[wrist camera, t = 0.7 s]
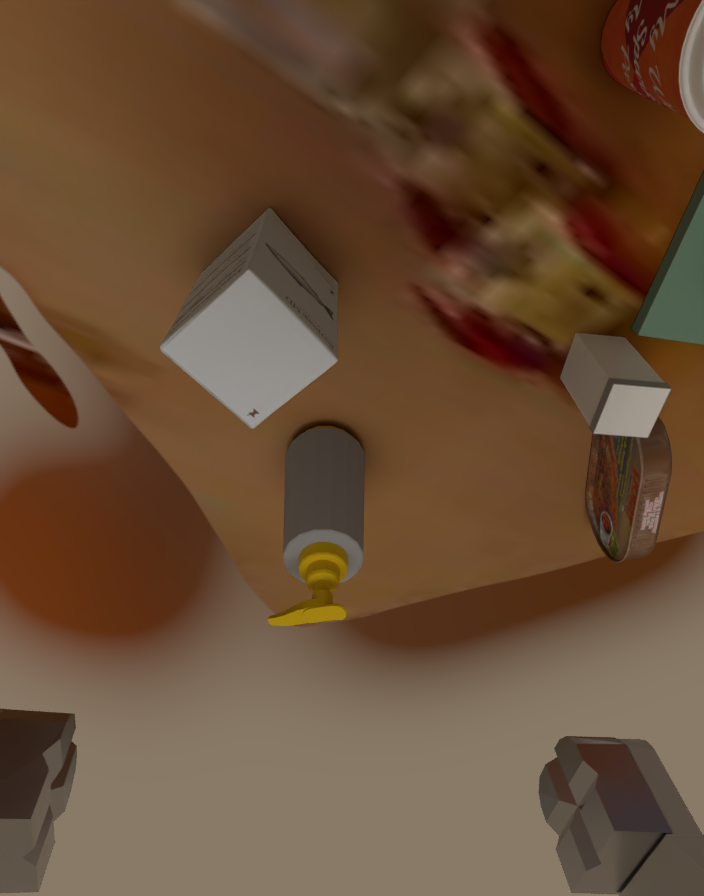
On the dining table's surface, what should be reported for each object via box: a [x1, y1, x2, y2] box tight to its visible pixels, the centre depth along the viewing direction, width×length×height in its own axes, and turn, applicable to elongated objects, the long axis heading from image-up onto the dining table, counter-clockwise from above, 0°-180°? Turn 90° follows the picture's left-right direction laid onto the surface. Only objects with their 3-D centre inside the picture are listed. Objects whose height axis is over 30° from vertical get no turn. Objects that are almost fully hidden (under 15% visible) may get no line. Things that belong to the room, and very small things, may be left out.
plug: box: [560, 333, 671, 438], centre depth 45 cm, size 4×4×8 cm
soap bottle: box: [268, 426, 365, 626], centre depth 46 cm, size 7×7×18 cm
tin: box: [586, 417, 672, 562], centre depth 51 cm, size 15×3×8 cm, turn 7°
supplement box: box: [160, 208, 338, 429], centre depth 39 cm, size 7×7×13 cm
